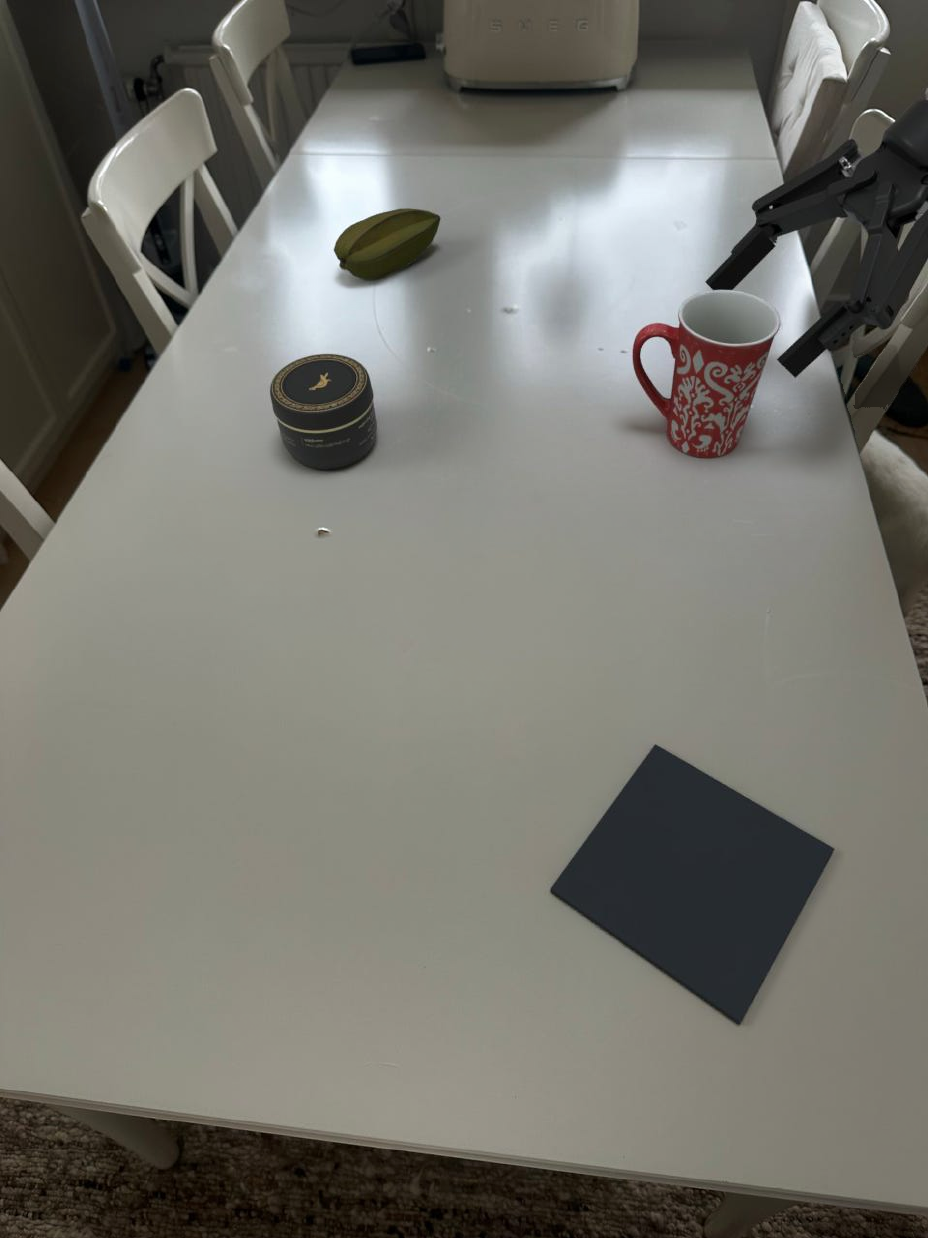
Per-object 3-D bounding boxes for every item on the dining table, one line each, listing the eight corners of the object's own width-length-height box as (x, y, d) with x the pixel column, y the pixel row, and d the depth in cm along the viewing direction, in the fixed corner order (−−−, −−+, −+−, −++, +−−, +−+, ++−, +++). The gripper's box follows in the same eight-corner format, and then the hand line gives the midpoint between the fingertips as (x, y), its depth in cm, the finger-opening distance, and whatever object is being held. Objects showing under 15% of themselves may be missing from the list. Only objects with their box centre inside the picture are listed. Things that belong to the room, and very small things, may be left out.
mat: (832, 852, 60) (834, 848, 59) (738, 1025, 53) (740, 1023, 52) (654, 747, 65) (655, 743, 65) (549, 892, 59) (550, 888, 58)
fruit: (355, 242, 116) (348, 193, 111) (443, 246, 114) (440, 195, 109) (334, 288, 109) (325, 237, 104) (428, 292, 107) (423, 241, 102)
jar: (384, 411, 93) (374, 349, 87) (376, 474, 86) (365, 412, 80) (292, 414, 93) (276, 352, 87) (277, 476, 87) (259, 414, 81)
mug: (751, 412, 90) (782, 292, 79) (747, 469, 84) (779, 349, 74) (629, 398, 92) (643, 280, 82) (617, 453, 87) (631, 334, 76)
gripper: (1072, 223, 66) (839, 424, 75) (881, 101, 81) (707, 281, 90) (1046, 163, 61) (800, 386, 70) (847, 45, 76) (667, 242, 85)
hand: (747, 328), depth 80 cm, fingers open, 13 cm apart
